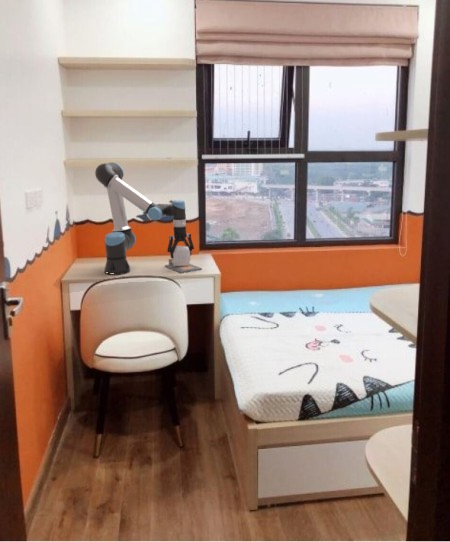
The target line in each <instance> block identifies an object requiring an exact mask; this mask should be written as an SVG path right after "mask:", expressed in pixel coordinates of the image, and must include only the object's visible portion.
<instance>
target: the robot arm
mask: <svg viewBox="0 0 450 542" xmlns="http://www.w3.org/2000/svg"><path fill="white" fill-rule="evenodd" d="M124 174H125V173H124V169H123V167H122V166H121V164H118V163H116V162H105V163H101V164H99V165H98V166H97V167H96V168H95V170H94V176H95V178H96V180H97V182H99V183H100V184H101V185H103V187H104V188H105V189H106V191H107V197H108V203H109V206H110V207H109V208H110V210H111V211H110V212H111V216H112V217H111V218H112V223H113V229H112V230H111V231H112V232H109V233H107V234H106V235H105V237H104V243H105V244H104V246H105V255H106V261H105V265H104V273H105V272H108V273H114V274H117V275H122V274H121V273H124V274H128V273H130V272H131V268H130V267H131V266H130V264H129V262H128V260H127V252H126V251H129V250H130V249H132V248H133V246H135V244H136V241H137V239H136V235H135V234H134V232H133V231H132V230H133V229H132V226H129V222H128V218H127V213H126V207H125V202H124V199H125V200H126V201H128V202H129V203H131V204H132V205H134V206H135V207H137V208H138V209H139V210H140V211H142V212H143V213H145V214H146V215H147V216H148V218H149V219H150V220H151V221H158V220H161V219H162V218H164V217H172V220H173V221H172V223H173V235H170V236H169V237H168V238H169V241H168V245H167V250H166V251H167V252H168V253H170V259H172V263H174V264H175V253H173V252H174V250H175V248H176V246H178V244H179V242H183V244H184V246H187V247H188V248H189V256H190V257H191V256H192V251H193V250H195V247H194V243H193V240H192V234H191V233H187V226H186V225H187V222H186V220H187V219H186V203H185V201H184V200H182V199H181V200H179V199H178V200H173V201H172V202H171V203H154V202H153V201H152V200H150V199H149V198H148V197H146V196H145V195H143V194H142V193H141V192H140V191H138V190H136V189H135V188H134V187H132V186H130V185H129V184H128V183H127V182H125V181H124V180H123V178H124ZM186 238H187V239H186ZM129 271H130V272H129ZM127 272H128V273H127Z"/></svg>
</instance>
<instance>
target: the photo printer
mask: <svg viewBox="0 0 450 542" xmlns="http://www.w3.org/2000/svg"><path fill="white" fill-rule="evenodd" d="M173 253H175V264H174V263H173V266H189V265H190V264H191V263H190V262H191V256H189V248H188V247H187V246H186V245H177V246H176V248H175V250H174V252H173Z"/></svg>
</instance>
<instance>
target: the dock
mask: <svg viewBox="0 0 450 542" xmlns="http://www.w3.org/2000/svg"><path fill="white" fill-rule="evenodd" d="M164 267H165V268H168V269H169V270H173V271H175V272H177V273H179V272H180V274H185V273H184V272H186V273H192V272H197V270H198V271H202V270H203V268H202V267H200V266H198V265H194V264H191V263H190V265H189V266H173V263H172V258H168V264H165V265H164ZM191 271H192V272H191Z"/></svg>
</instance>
